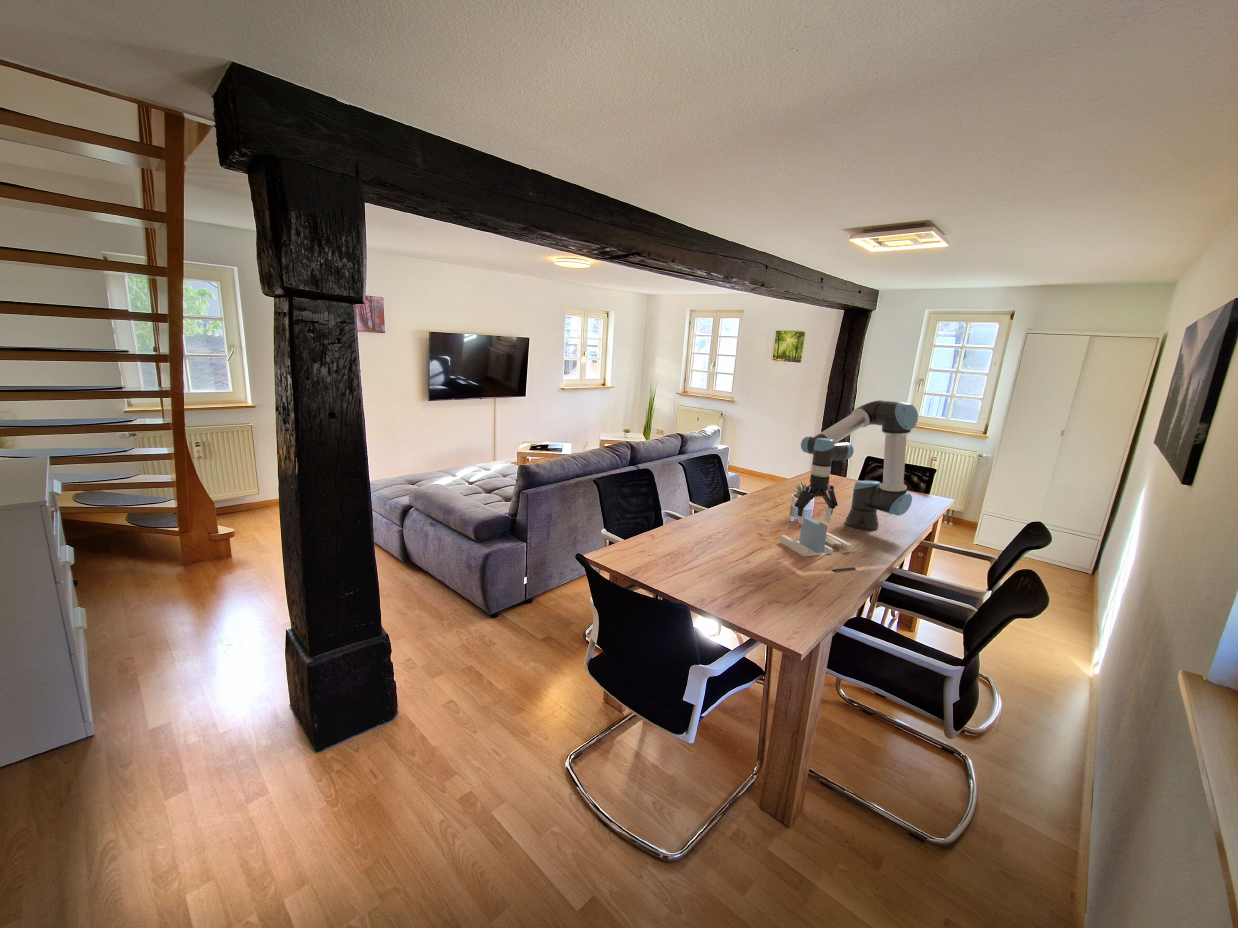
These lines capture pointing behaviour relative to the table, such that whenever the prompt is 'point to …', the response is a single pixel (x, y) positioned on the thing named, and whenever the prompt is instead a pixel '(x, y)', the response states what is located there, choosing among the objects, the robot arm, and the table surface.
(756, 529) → the table surface
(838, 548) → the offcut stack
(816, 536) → the blue-grey square block
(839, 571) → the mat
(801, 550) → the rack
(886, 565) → the table surface
